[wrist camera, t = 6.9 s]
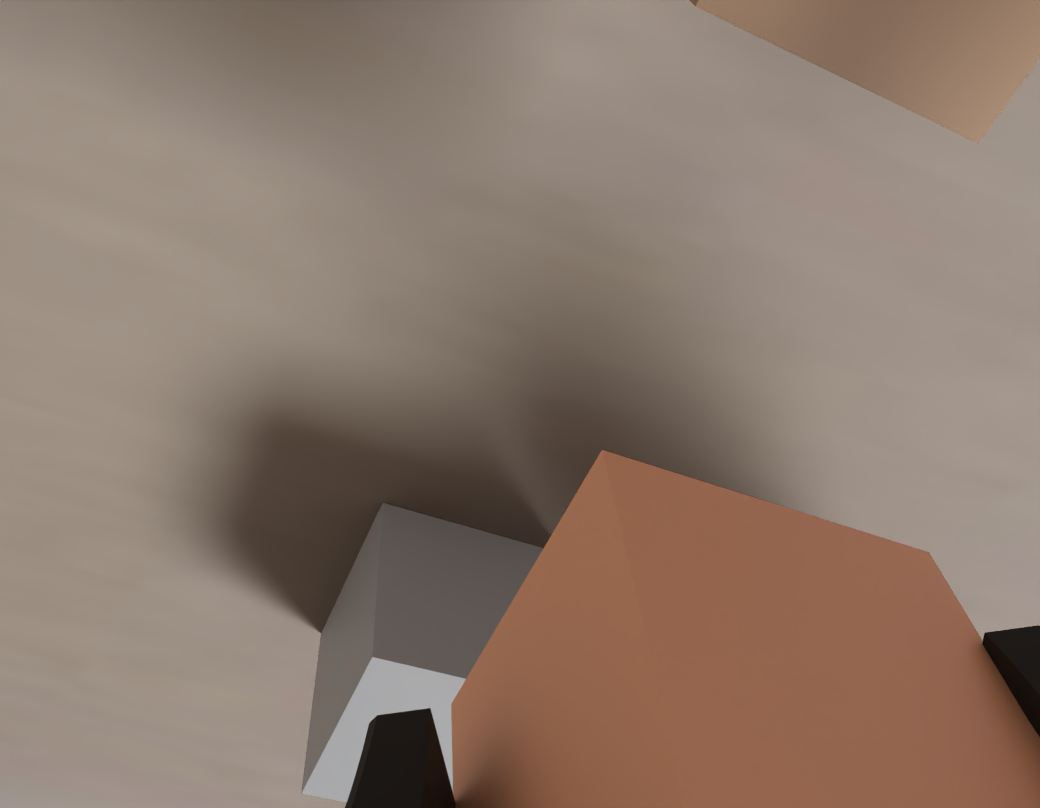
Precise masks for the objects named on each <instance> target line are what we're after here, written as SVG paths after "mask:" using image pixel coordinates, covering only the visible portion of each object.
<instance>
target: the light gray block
mask: <svg viewBox="0 0 1040 808" xmlns="http://www.w3.org/2000/svg"><path fill="white" fill-rule="evenodd" d="M542 550H543V548H541V547H538V546H534V545H531V544H527V543H524V542H520V541H517V540H513V539H510V538H506V537H502V536H499V535H495V534H492V533H488V532H485V531H481V530H478V529H474V528H471V527H467V526H464V525H460V524H456V523H453V522H449V521H446V520H442V519H439V518H435V517H432V516H428V515H425V514H421V513H417V512H414V511H410V510H407V509H403V508H400V507H396V506H393V505H389V504H386V503H382V505H381V507H380V509H379V511H378V513H377V515H376V517H375V520H374V522H373V524H372V526H371V528H370V530H369V532H368V535H367V537H366V539H365V541H364V543H363V545H362V547H361V549H360V552H359V554H358V556H357V558H356V560H355V562H354V564H353V567H352V569H351V571H350V573H349V575H348V577H347V579H346V581H345V584H344V586H343V588H342V590H341V592H340V594H339V596H338V599H337V601H336V603H335V605H334V607H333V609H332V611H331V613H330V616H329V618H328V620H327V622H326V624H325V626H324V628H323V630H322V633H321V639H320V647H319V655H318V663H317V671H316V679H315V687H314V695H313V703H312V711H311V719H310V728H309V736H308V744H307V752H306V760H305V768H304V776H303V784H302V792H301V794H305V795H311V796H316V797H322V798H327V799H332V800H338V801H343V802H347V800H348V797H349V794H350V791H351V788H352V785H353V781H354V778H355V775H356V771H357V768H358V764H359V761H360V757H361V754H362V750H363V746H364V742H365V738H366V734H367V730H368V726H369V723H370V722H371V721H372V720H373V719H374V718H375V717H376V716H377V715H383V714H390V713H397V712H405V711H412V710H420V709H427V708H431V712H432V716H433V720H434V723H435V727H436V731H437V735H438V738H439V742H440V746H441V750H442V754H443V757H444V761H445V765H446V769H447V772H448V776H449V780H450V784H451V788H452V791H453V770H452V718H451V704H452V702H453V700H454V699H455V697H456V695H457V694H458V692H459V690H460V688H461V687H462V685H463V683H464V682H465V680H466V678H467V677H468V675H469V673H470V672H471V670H472V668H473V667H474V665H475V663H476V661H477V660H478V658H479V656H480V655H481V653H482V651H483V650H484V648H485V646H486V645H487V643H488V641H489V640H490V638H491V636H492V634H493V633H494V631H495V629H496V628H497V626H498V624H499V623H500V621H501V619H502V618H503V616H504V614H505V613H506V611H507V609H508V607H509V606H510V604H511V602H512V601H513V599H514V597H515V596H516V594H517V592H518V591H519V589H520V587H521V586H522V584H523V582H524V580H525V579H526V577H527V575H528V574H529V572H530V570H531V569H532V567H533V565H534V564H535V562H536V560H537V559H538V557H539V555H540V553H541V552H542Z"/></svg>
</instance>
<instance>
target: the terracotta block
mask: <svg viewBox="0 0 1040 808" xmlns="http://www.w3.org/2000/svg"><path fill="white" fill-rule="evenodd" d="M982 643H983V641H982V639H981V638H980V636H979V634H978V633H977V631H976V629H975V628H974V626H973V624H972V623H971V621H970V619H969V618H968V616H967V614H966V613H965V611H964V609H963V608H962V606H961V605H960V603H959V601H958V600H957V598H956V596H955V595H954V593H953V591H952V590H951V588H950V586H949V585H948V583H947V581H946V580H945V578H944V576H943V575H942V573H941V571H940V570H939V568H938V567H937V565H936V563H935V562H934V560H933V558H932V557H931V555H930V553H929V552H926V551H923V550H920V549H916V548H913V547H910V546H907V545H904V544H901V543H897V542H894V541H891V540H888V539H885V538H881V537H878V536H875V535H872V534H869V533H865V532H862V531H859V530H856V529H853V528H850V527H846V526H843V525H840V524H837V523H834V522H830V521H827V520H824V519H821V518H818V517H814V516H811V515H808V514H805V513H802V512H799V511H795V510H792V509H789V508H786V507H783V506H779V505H776V504H773V503H770V502H767V501H763V500H760V499H757V498H754V497H751V496H748V495H744V494H741V493H738V492H735V491H732V490H728V489H725V488H722V487H719V486H716V485H712V484H709V483H706V482H703V481H700V480H697V479H693V478H690V477H687V476H684V475H681V474H677V473H674V472H671V471H668V470H665V469H662V468H658V467H655V466H652V465H649V464H646V463H642V462H639V461H636V460H633V459H630V458H626V457H623V456H620V455H617V454H614V453H611V452H607V451H604V450H602V451H601V452H600V454H599V456H598V457H597V459H596V461H595V462H594V464H593V466H592V467H591V469H590V471H589V473H588V474H587V476H586V478H585V479H584V481H583V483H582V484H581V486H580V488H579V489H578V491H577V493H576V494H575V496H574V498H573V500H572V501H571V503H570V505H569V506H568V508H567V510H566V511H565V513H564V515H563V516H562V518H561V520H560V521H559V523H558V525H557V526H556V528H555V530H554V532H553V533H552V535H551V537H550V538H549V540H548V542H547V543H546V545H545V547H544V548H543V550H542V552H541V553H540V555H539V557H538V559H537V560H536V562H535V564H534V565H533V567H532V569H531V570H530V572H529V574H528V575H527V577H526V579H525V580H524V582H523V584H522V586H521V587H520V589H519V591H518V592H517V594H516V596H515V597H514V599H513V601H512V602H511V604H510V606H509V607H508V609H507V611H506V613H505V614H504V616H503V618H502V619H501V621H500V623H499V624H498V626H497V628H496V629H495V631H494V633H493V634H492V636H491V638H490V640H489V641H488V643H487V645H486V646H485V648H484V650H483V651H482V653H481V655H480V656H479V658H478V660H477V661H476V663H475V665H474V667H473V668H472V670H471V672H470V673H469V675H468V677H467V678H466V680H465V682H464V683H463V685H462V687H461V688H460V690H459V692H458V694H457V695H456V697H455V699H454V700H453V702H452V704H451V718H452V770H453V795H454V799H455V808H1040V737H1039V735H1038V734H1037V732H1036V731H1035V729H1034V728H1033V726H1032V725H1031V724H1030V722H1029V721H1028V719H1027V717H1026V716H1025V714H1024V712H1023V711H1022V709H1021V707H1020V706H1019V704H1018V702H1017V701H1016V699H1015V697H1014V696H1013V694H1012V692H1011V691H1010V689H1009V687H1008V686H1007V684H1006V682H1005V681H1004V679H1003V678H1002V676H1001V674H1000V673H999V671H998V669H997V668H996V666H995V664H994V663H993V661H992V659H991V658H990V656H989V654H988V653H987V651H986V649H985V648H984V646H983V644H982Z"/></svg>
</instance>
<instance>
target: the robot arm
mask: <svg viewBox="0 0 1040 808" xmlns="http://www.w3.org/2000/svg"><path fill="white" fill-rule="evenodd" d="M982 644H983V646H984V648H985V649H986V651H987V653H988V654H989V656H990V658H991V659H992V661H993V663H994V664H995V666H996V668H997V669H998V671H999V673H1000V674H1001V676H1002V678H1003V679H1004V681H1005V682H1006V684H1007V686H1008V687H1009V689H1010V691H1011V692H1012V694H1013V696H1014V697H1015V699H1016V701H1017V702H1018V704H1019V706H1020V707H1021V709H1022V711H1023V712H1024V714H1025V716H1026V717H1027V719H1028V721H1029V722H1030V724H1031V725H1032V726H1033V728H1034V729H1035V731H1036V732H1037V734H1038V735H1039V737H1040V626H1032V627H1024V628H1017V629H1009V630H1002V631H995V632H987V633H985V634H984V638H983V643H982ZM345 808H455V799H454V795H453V791H452V788H451V784H450V780H449V776H448V772H447V769H446V765H445V761H444V757H443V754H442V750H441V746H440V742H439V738H438V735H437V731H436V727H435V723H434V720H433V716H432V712H431V708H427V709H420V710H412V711H405V712H397V713H390V714H383V715H377V716H376V717H375V718H374V719H373V720H372V721H371V722H370V723H369V726H368V730H367V734H366V738H365V742H364V746H363V750H362V754H361V757H360V761H359V764H358V768H357V771H356V775H355V778H354V781H353V785H352V788H351V791H350V794H349V797H348V800H347V803H346V806H345Z"/></svg>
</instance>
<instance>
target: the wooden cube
mask: <svg viewBox="0 0 1040 808" xmlns="http://www.w3.org/2000/svg"><path fill="white" fill-rule="evenodd" d="M690 1H691V2H692V3H693V4H694V5H695V6H696V7H698V8H700V9H702V10H704V11H706V12H708V13H710V14H712V15H714V16H717V17H719V18H721V19H723V20H725V21H727V22H729V23H731V24H733V25H735V26H737V27H739V28H741V29H743V30H745V31H747V32H749V33H752V34H754V35H756V36H758V37H760V38H762V39H764V40H766V41H768V42H770V43H772V44H774V45H776V46H778V47H780V48H782V49H784V50H787V51H789V52H791V53H793V54H795V55H797V56H799V57H801V58H803V59H805V60H807V61H809V62H811V63H813V64H815V65H817V66H819V67H822V68H824V69H826V70H828V71H830V72H832V73H834V74H836V75H838V76H840V77H842V78H844V79H846V80H848V81H850V82H852V83H854V84H857V85H859V86H861V87H863V88H865V89H867V90H869V91H871V92H873V93H875V94H877V95H879V96H881V97H883V98H885V99H887V100H889V101H892V102H894V103H896V104H898V105H900V106H902V107H904V108H906V109H908V110H910V111H912V112H914V113H916V114H918V115H920V116H922V117H924V118H927V119H929V120H931V121H933V122H935V123H937V124H939V125H941V126H943V127H945V128H947V129H949V130H951V131H953V132H955V133H957V134H959V135H962V136H964V137H966V138H968V139H970V140H972V141H974V142H976V143H979V142H980V141H981V139H982V138H983V136H984V135H985V134H986V132H987V131H988V129H989V128H990V127H991V125H992V124H993V122H994V121H995V120H996V118H997V117H998V115H999V114H1000V113H1001V111H1002V110H1003V108H1004V107H1005V106H1006V104H1007V103H1008V101H1009V100H1010V99H1011V97H1012V96H1013V94H1014V93H1015V92H1016V90H1017V89H1018V87H1019V86H1020V85H1021V83H1022V82H1023V80H1024V79H1025V78H1026V76H1027V75H1028V73H1029V72H1030V71H1031V69H1032V68H1033V66H1034V65H1035V64H1036V62H1037V61H1038V59H1039V58H1040V0H690Z"/></svg>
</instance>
